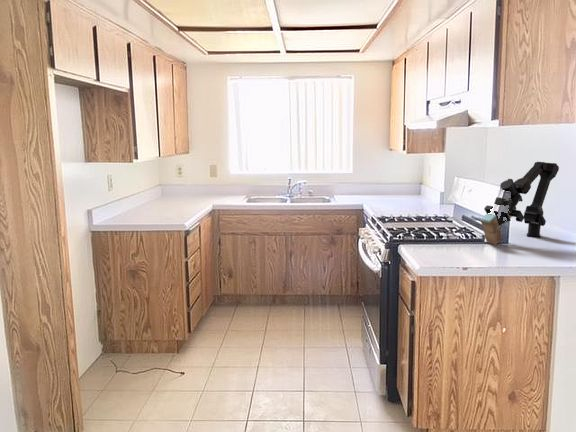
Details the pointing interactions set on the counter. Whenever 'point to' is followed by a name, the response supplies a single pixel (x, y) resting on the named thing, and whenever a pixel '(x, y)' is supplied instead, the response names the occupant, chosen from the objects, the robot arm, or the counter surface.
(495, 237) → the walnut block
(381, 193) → the counter surface
